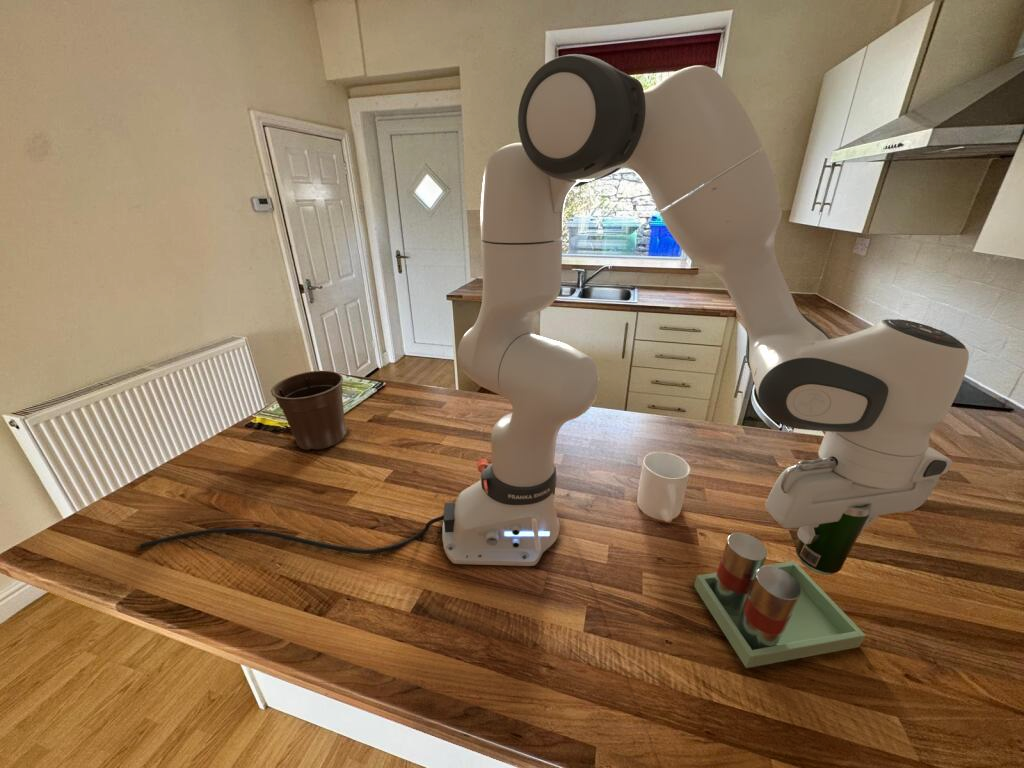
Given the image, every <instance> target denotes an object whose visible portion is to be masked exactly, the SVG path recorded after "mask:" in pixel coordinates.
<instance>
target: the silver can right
mask: <svg viewBox="0 0 1024 768" xmlns="http://www.w3.org/2000/svg"><path fill="white" fill-rule="evenodd" d="M800 595H801V588H800V586H799V584H798V582H797V581H796V580H795V579H794V578H793V577H792V576H791V575H790V574H789V573H787V572H785V571H784V570H782V569H779V568H776V567H773V566H764V565H763V567H761V568H759V569H758V570H757V573H756V575H755V578H754V581H753V583H752V586H751V589H750V590H749V593H748V595H747V598H746V601H745V603H744V607H743V610H742V613H741V615H740V618H739V621H738V623H737V626H736V627H737V628H738V630H739V631H740V633H741V634H742V636H743V637H744V639H745V640H746V642H747V643H748V645H749V646H750V648H751V649H752V650H755V649H761V648H766V647H772V646H777V645H778V642H779V640H780V638H781V636H782V634H783V632H784V630H785V628H786V626H787V624H788V622H789V620H790V618H791V615H792V612H793V610H794V608H795V606H796V603H797V601H798V599H799V597H800Z"/></svg>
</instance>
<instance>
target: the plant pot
mask: <svg viewBox="0 0 1024 768" xmlns="http://www.w3.org/2000/svg"><path fill="white" fill-rule="evenodd" d="M343 382H344V376H343V375H342V374H341V373H339V372H337V371H335V370H311V371H306V372H301V373H297V374H294V375H291V376H288V377H286V378H284V379H281V380H280V381H278V382H276V383H275V384H274V385H273V386H272V387H271V389H270V394H271V395H272V397H274V398H275V400H276V402H277V404H278V407H279V408H280V409H281V410H282V412H283V414H284V417H285V419H286V421H287V423H288V426H289V428H290V431H291V433H292V435H293V438H294V441H295V443H296V445H297V447H299V448H300V449H301V450H305V451H310V450H315V451H321V450H324V449H328V448H331V447H333V446H335V445H337V444H338V443H340V442H342V441H343V440H344V438H345V436H346V435H347V432H348V431H347V424H346V418H345V410H344V401H343V393H344V390H343Z"/></svg>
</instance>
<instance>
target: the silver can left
mask: <svg viewBox="0 0 1024 768" xmlns="http://www.w3.org/2000/svg"><path fill="white" fill-rule="evenodd" d="M766 547H767V546H765V545H764V543H763V542H762V541H761V540H759V538H756V536H754V535H751V534H748V533H745V532H733V533H731V534H730V535H729V536H728V537H727V540H726V544H725V547H724V550H723V552H722V556H721V558H720V561H719V565H718V567H717V572H716V573H717V575H716V578H715V581H714V585H713V588H712V591H713V593H714V594H715V596H716V597H717V599H718V600H719V602H720V603H721V605H722V606H723V608H724V609H725V610H726V612H727V613H728V615H732V616H740V615H741V613H742V610H743V607H744V603H745V601H746V598H747V595H748V593H749V590H750V589H751V586H752V583H753V581H754V578H755V575H756V573H757V570H758V569H759V568H761V567H762V566H764V564H765V561H766V559H767V556H768V549H767V548H766Z"/></svg>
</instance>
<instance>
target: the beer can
mask: <svg viewBox="0 0 1024 768" xmlns="http://www.w3.org/2000/svg"><path fill="white" fill-rule="evenodd" d="M871 505H872V504H869V505H868V506H866V507H864V505H858V506H855V507H851V506H850V507H848V509H847V510H846V511H845V512H844V513H843V514H842V517H841V519H840V520H839V521H838V522H831V523H824V524H819V526H818V527H814V530H815V531H816V532H818V533H819V534H820V537H819V539H817V540H818V541H817V542H816V543H811V544H804V543H803V542H802V541H801V540H800V539H799V538H798V541H797V543H796V545H795V554H796V557H797V559H798V561H800V563H801V564H802V565H803V566H805V567H806V568H807V569H808V570H811V571H813V572H814V573H817V574H820V575H826V576H830V575H834V574H837V573H838V572H840V571H842V568H843V566H844V564H845V563H846V560H847V559H848V557H849V555H850V553H851V551H852V549H853V547H854V545H855V543H856V541H857V540H858V537H860V536H859V534H860V532H861V530H862V528H863V526H864V524H865V522H866V520H867V518H868V516H869V515H870V512H871V508H870V507H871Z"/></svg>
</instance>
